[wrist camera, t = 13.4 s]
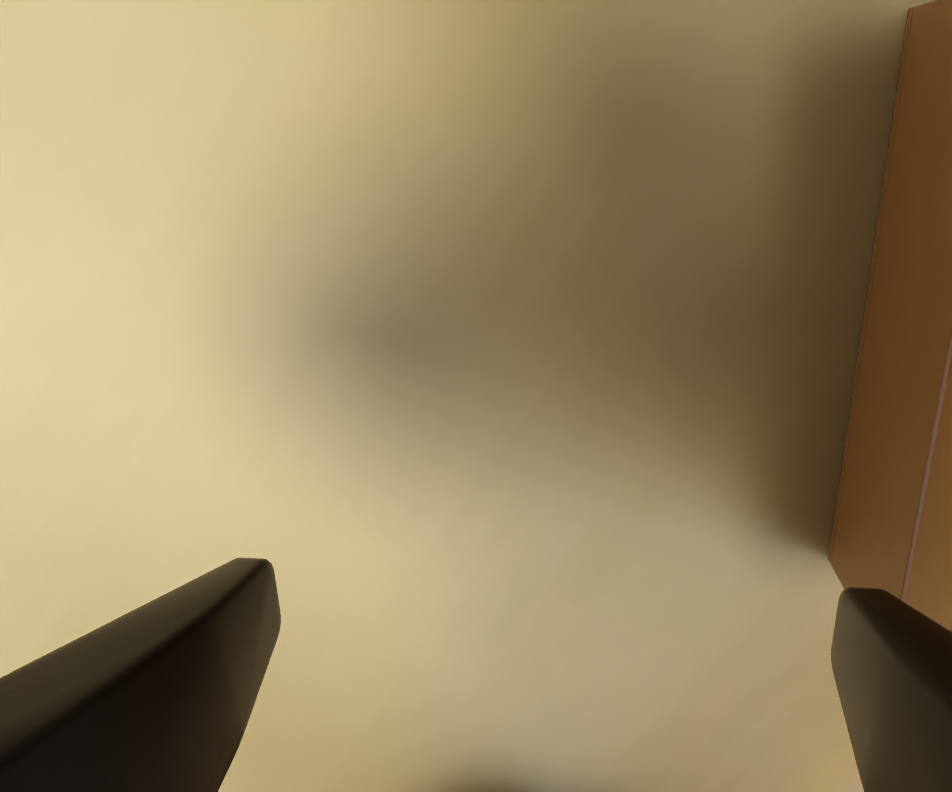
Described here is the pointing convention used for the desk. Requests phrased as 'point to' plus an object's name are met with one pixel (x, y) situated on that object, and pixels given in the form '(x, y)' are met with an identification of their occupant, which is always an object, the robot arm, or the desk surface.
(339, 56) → the desk surface
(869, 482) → the carton
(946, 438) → the flap
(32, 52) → the desk surface
